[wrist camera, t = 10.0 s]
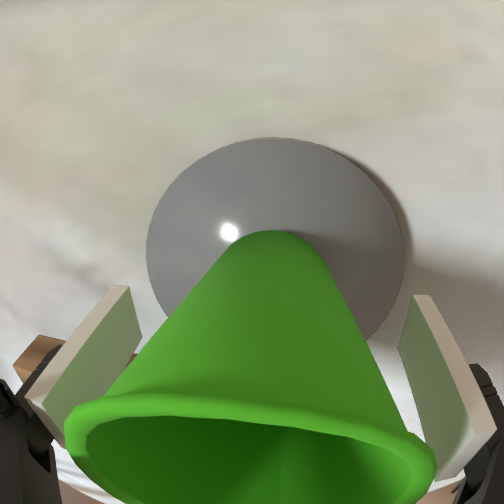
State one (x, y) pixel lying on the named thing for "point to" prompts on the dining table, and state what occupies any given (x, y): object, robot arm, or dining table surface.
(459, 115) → the dining table surface
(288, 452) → the cup
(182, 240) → the coaster
